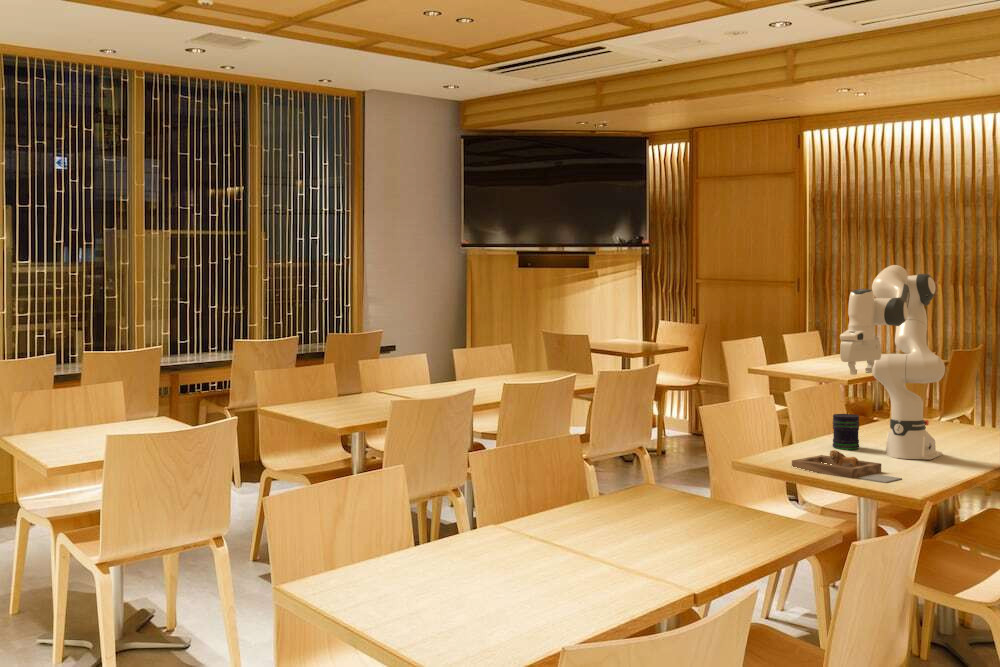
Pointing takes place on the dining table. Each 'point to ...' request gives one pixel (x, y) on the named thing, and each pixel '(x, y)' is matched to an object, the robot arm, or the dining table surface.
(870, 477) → the rubber mat
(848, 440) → the storage jar
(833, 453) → the lion figurine
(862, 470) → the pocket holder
